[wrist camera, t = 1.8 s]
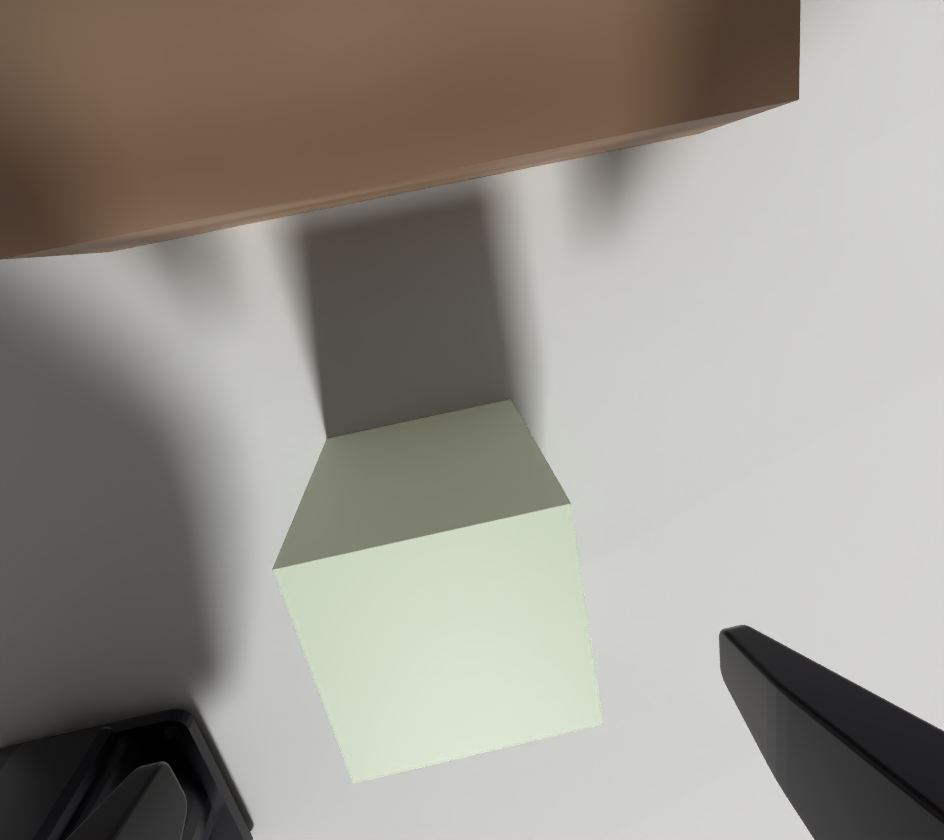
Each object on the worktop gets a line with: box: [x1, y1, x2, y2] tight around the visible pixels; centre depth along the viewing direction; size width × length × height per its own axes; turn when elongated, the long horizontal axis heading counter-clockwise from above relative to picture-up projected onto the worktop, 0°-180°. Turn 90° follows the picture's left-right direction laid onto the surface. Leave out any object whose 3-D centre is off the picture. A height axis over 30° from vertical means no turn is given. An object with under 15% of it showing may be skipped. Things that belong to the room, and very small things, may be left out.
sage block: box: [272, 399, 603, 784], centre depth 13 cm, size 5×5×6 cm
